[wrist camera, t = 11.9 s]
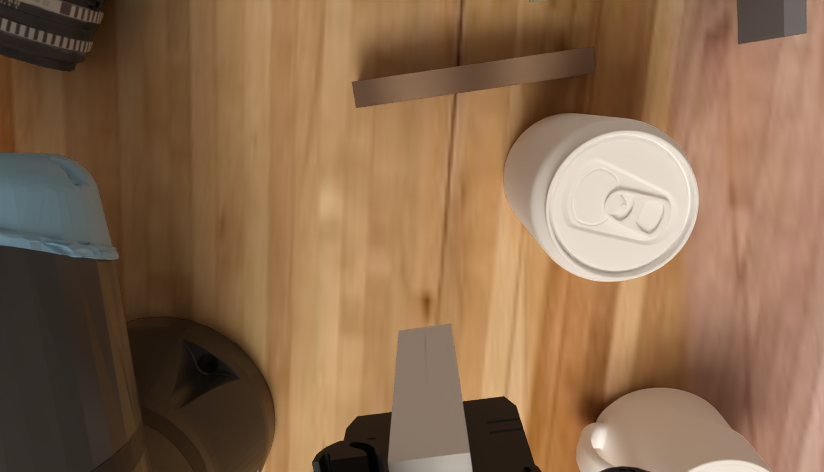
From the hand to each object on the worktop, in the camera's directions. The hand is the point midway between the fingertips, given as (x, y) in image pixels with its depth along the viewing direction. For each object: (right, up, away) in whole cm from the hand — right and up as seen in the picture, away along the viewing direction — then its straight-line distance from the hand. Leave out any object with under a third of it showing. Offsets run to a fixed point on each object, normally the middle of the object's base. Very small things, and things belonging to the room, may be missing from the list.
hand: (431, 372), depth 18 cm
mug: (+16, -10, +27) cm, 33 cm away
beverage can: (+9, +8, +23) cm, 26 cm away
